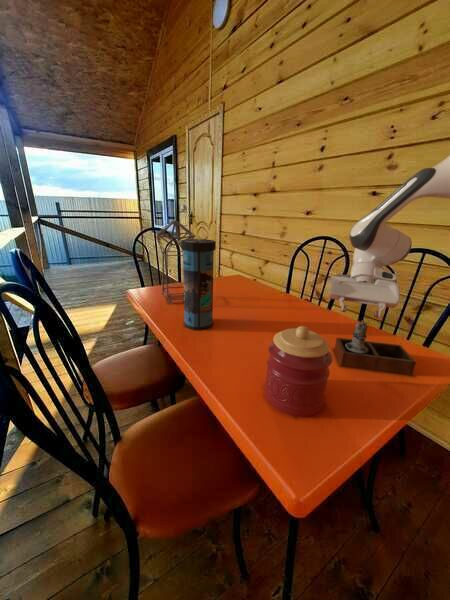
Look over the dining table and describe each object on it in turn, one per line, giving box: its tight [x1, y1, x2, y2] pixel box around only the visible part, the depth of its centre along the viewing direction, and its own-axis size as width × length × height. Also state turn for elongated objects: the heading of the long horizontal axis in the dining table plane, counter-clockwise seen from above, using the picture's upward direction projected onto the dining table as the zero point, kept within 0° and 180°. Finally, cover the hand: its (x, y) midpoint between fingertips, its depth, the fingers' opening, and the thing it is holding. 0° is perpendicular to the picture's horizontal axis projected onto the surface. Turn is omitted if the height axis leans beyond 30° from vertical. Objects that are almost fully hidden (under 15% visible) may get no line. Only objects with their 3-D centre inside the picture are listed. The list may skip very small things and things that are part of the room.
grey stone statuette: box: [345, 319, 369, 354], centre depth 70 cm, size 6×6×12 cm
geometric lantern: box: [155, 220, 197, 305], centre depth 110 cm, size 16×16×35 cm
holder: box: [333, 337, 417, 377], centre depth 71 cm, size 17×9×5 cm, turn 78°
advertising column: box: [180, 238, 217, 331], centre depth 87 cm, size 11×11×30 cm
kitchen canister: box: [264, 325, 333, 418], centre depth 55 cm, size 13×13×18 cm
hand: (359, 314), depth 80 cm, fingers open, 8 cm apart
